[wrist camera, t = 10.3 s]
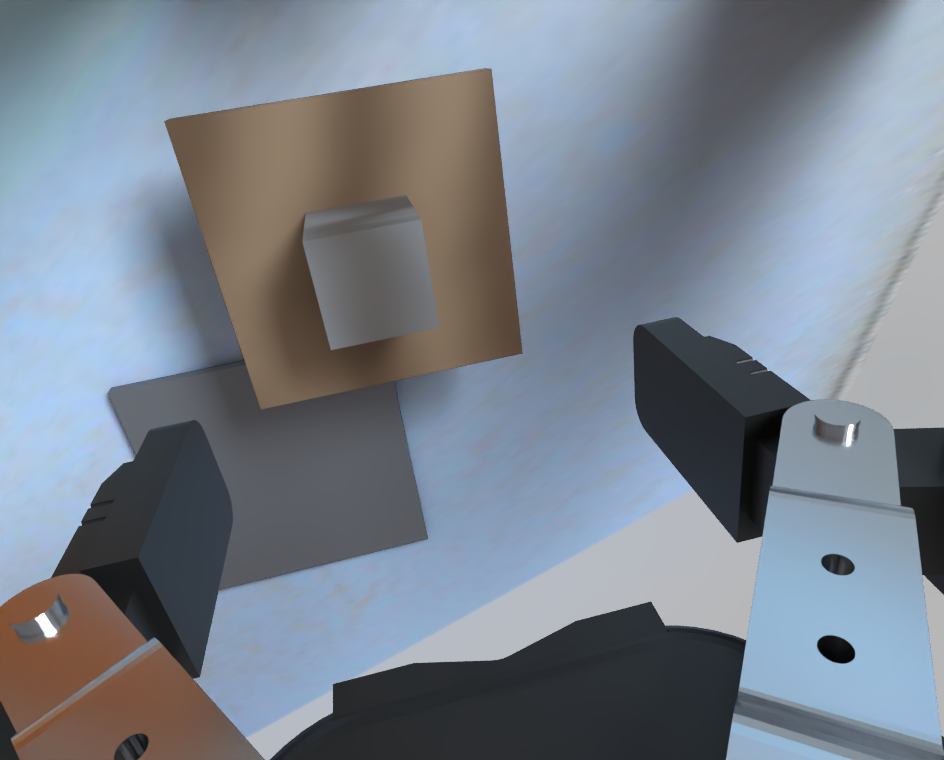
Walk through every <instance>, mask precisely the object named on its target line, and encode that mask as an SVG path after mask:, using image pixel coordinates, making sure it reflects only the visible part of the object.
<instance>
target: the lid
mask: <svg viewBox="0 0 944 760" xmlns="http://www.w3.org/2000/svg"><path fill="white" fill-rule="evenodd" d="M164 122H165V125H166V128H167V131H168V134H169V137H170V139H171V142H172V145H173V148H174V151H175V154H176V157H177V160H178V163H179V166H180V169H181V172H182V175H183V178H184V181H185V184H186V187H187V190H188V193H189V196H190V199H191V202H192V205H193V208H194V211H195V214H196V217H197V220H198V223H199V226H200V229H201V232H202V235H203V238H204V241H205V244H206V247H207V250H208V253H209V256H210V259H211V262H212V265H213V268H214V271H215V274H216V277H217V280H218V283H219V286H220V289H221V292H222V295H223V298H224V301H225V304H226V307H227V310H228V313H229V316H230V319H231V322H232V325H233V328H234V331H235V334H236V337H237V340H238V343H239V346H240V349H241V352H242V355H243V358H244V360H245V363H246V366H247V369H248V372H249V375H250V378H251V381H252V384H253V387H254V390H255V393H256V396H257V399H258V402H259V405H260V408H261V409H265V408H270V407H275V406H279V405H284V404H289V403H293V402H298V401H303V400H307V399H312V398H317V397H322V396H326V395H331V394H336V393H340V392H345V391H350V390H354V389H359V388H364V387H368V386H373V385H378V384H382V383H387V382H392V381H396V380H401V379H406V378H410V377H415V376H420V375H424V374H429V373H434V372H438V371H443V370H448V369H452V368H457V367H462V366H466V365H471V364H476V363H480V362H485V361H490V360H494V359H499V358H504V357H508V356H513V355H518V354H522V345H521V336H520V326H519V317H518V308H517V299H516V290H515V281H514V272H513V262H512V253H511V244H510V235H509V226H508V217H507V208H506V198H505V189H504V180H503V171H502V162H501V153H500V144H499V134H498V125H497V116H496V107H495V98H494V89H493V80H492V70H491V69H488V68H484V69H478V70H472V71H465V72H459V73H453V74H447V75H440V76H434V77H428V78H422V79H415V80H409V81H403V82H397V83H390V84H384V85H378V86H372V87H365V88H359V89H353V90H347V91H340V92H334V93H328V94H322V95H316V96H309V97H303V98H297V99H291V100H284V101H278V102H272V103H266V104H259V105H253V106H247V107H241V108H234V109H228V110H222V111H216V112H209V113H203V114H197V115H191V116H184V117H178V118H172V119H168V120H166V121H164Z"/></svg>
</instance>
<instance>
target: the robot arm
mask: <svg viewBox="0 0 944 760" xmlns="http://www.w3.org/2000/svg"><path fill="white" fill-rule="evenodd" d="M633 346H634V381H635V403H636V409H637V413H638V416H639V419H640V422H641V424H642V426H643V428H644V429H645V431H646V432H647V433H648V434H649V436H650V437H651V438H652V439H653V441H654V442H655V443H656V444H657V445H658V447H659V448H660V449H661V450H662V452H663V453H664V454H665V455H666V456H667V458H668V459H669V460H670V461H671V463H672V464H673V465H674V466H675V467H676V469H677V470H678V471H679V472H680V474H681V475H682V476H683V477H684V478H685V480H686V481H687V482H688V483H689V485H690V486H691V487H692V488H693V489H694V491H695V492H696V493H697V494H698V496H699V497H700V498H701V499H702V500H703V502H704V503H705V504H706V505H707V507H708V508H709V509H710V510H711V511H712V513H713V514H714V515H715V516H716V518H717V519H718V520H719V521H720V522H721V524H722V525H723V526H724V527H725V529H726V530H727V531H728V532H729V533H730V534H731V536H732V537H733V538H734V540H735V541H736V542H737V543H738V542H741V541H746V540H750V539H754V538H757V537H761V536H762V543H761V549H760V556H759V562H758V570H757V575H756V581H755V588H754V594H753V602H752V607H751V614H750V620H749V627H748V634H747V640H744V639H741V638H739V637H736V636H733V635H729V634H725V633H722V632H718V631H714V630H709V629H703V628H697V627H687V626H665V625H664V623H663V622H662V620H661V618H660V616H659V615H658V613H657V611H656V609H655V608H654V606H653V605H652V602H648V603H644V604H640V605H637V606H632V607H629V608H625V609H621V610H617V611H613V612H610V613H606V614H602V615H598V616H594V617H590V618H587V619H582V620H579V621H575V622H573V623H572V624H570V625H568V626H566V627H564V628H562V629H560V630H558V631H556V632H554V633H552V634H550V635H549V636H547V637H545V638H543V639H541V640H539V641H537V642H535V643H533V644H531V645H530V646H527V647H526V648H524V649H522V650H520V651H518V652H516V653H514V654H512V655H510V656H508V657H506V658H504V659H500V660H493V661H465V662H435V663H413V664H409V665H406V666H402V667H398V668H394V669H390V670H386V671H383V672H378V673H375V674H371V675H367V676H363V677H359V678H355V679H351V680H348V681H344V682H340V683H336V684H333V713H332V714H330V715H328V716H326V717H324V718H323V719H321V720H319V721H318V722H316V723H315V724H313V725H312V726H310V727H308V728H307V729H305V730H304V731H302V732H301V733H300V734H299V735H297V736H296V737H295V738H294V739H292V740H291V741H290V742H289V743H288V744H286V745H285V746H284V747H283V748H282V749H281V750H280V751H279V752H278V753H276V754H275V755H274V756H273V757H272V758H271V759H270V760H944V737H943V736H941V730H940V721H939V713H938V704H937V696H936V687H935V679H934V671H933V662H932V654H931V645H930V637H929V628H928V620H927V612H926V604H925V594H924V586H923V577H922V575H925V576H926V578H927V579H928V580H929V581H931V583H932V584H934V586H935V587H937V589H939V591H941V592H942V593H943V594H944V428H917V429H893V427H892V425H891V423H890V422H889V421H888V420H887V419H886V418H885V417H884V416H883V415H881V414H880V413H878V412H876V411H874V410H873V409H870V408H868V407H865V406H863V405H859V404H856V403H852V402H847V401H841V400H829V399H825V400H810V399H808V398H807V397H806V396H804V395H803V394H802V393H800V392H799V391H797V390H796V389H795V388H793V387H792V386H791V385H789V384H788V383H787V382H785V381H784V380H782V379H781V378H780V377H778V376H777V375H776V374H774V373H773V372H772V371H767V368H766V367H765V366H763V365H762V364H761V363H759V362H758V361H757V360H754V361H753V359H752V357H751V356H750V355H748V354H747V353H746V352H744V351H743V350H742V349H740V348H739V347H737V346H736V345H734V344H731V343H728V342H726V341H723V340H720V339H717V338H714V337H711V336H707V337H703V336H702V335H701V334H699V333H698V332H697V331H695V330H694V329H693V328H691V327H690V326H689V325H688V324H686V323H685V322H684V321H682V320H681V319H680V318H677V317H674V318H669V319H665V320H660V321H656V322H651V323H646V324H642V325H638V326H637V327H636V328H635V331H634V337H633ZM81 523H82V526H79V527H78V529H77V531H76V532H75V534H74V536H73V538H72V540H71V542H70V544H69V545H68V547H67V549H66V551H65V553H64V555H63V557H62V558H61V560H60V562H59V564H58V566H57V568H56V570H55V571H54V573H53V575H52V577H51V578H50V579H47V580H44V581H42V582H39V583H37V584H35V585H33V586H31V587H29V588H27V589H25V590H23V591H22V592H20V593H18V594H17V595H15V596H14V597H12V598H11V599H10V600H8V601H7V602H6V603H4V604H3V605H2V606H1V607H0V760H264V758H263V757H262V756H261V755H260V754H259V753H258V751H257V750H256V749H255V748H254V747H253V746H252V745H251V744H250V743H249V741H248V740H247V739H246V738H245V737H244V736H243V735H242V734H241V732H240V731H239V730H238V729H237V728H236V727H235V726H234V725H233V723H232V722H231V721H230V720H229V719H228V718H227V717H226V716H225V714H224V713H223V712H222V711H221V710H220V709H219V708H218V707H217V705H216V704H215V703H214V702H213V701H212V700H211V699H210V698H209V696H208V695H207V694H206V693H205V692H204V691H203V690H202V689H201V688H200V686H199V685H198V684H197V683H196V682H195V681H194V680H193V679H194V678H197V677H200V674H201V669H202V665H203V660H204V655H205V651H206V646H207V641H208V637H209V632H210V627H211V623H212V618H213V613H214V609H215V604H216V599H217V595H218V590H219V586H220V581H221V576H222V572H223V567H224V562H225V558H226V553H227V548H228V544H229V539H230V534H231V530H232V525H233V510H232V503H231V498H230V495H229V491H228V489H227V486H226V484H225V481H224V479H223V476H222V474H221V471H220V469H219V466H218V464H217V461H216V459H215V456H214V454H213V451H212V449H211V446H210V444H209V441H208V439H207V436H206V434H205V432H204V430H203V428H202V426H201V425H200V423H199V422H198V421H196V420H191V421H186V422H181V423H177V424H172V425H167V426H163V427H158V428H153V429H150V430H149V431H148V433H147V435H146V437H145V439H144V441H143V443H142V445H141V447H140V449H139V451H138V453H137V455H136V457H135V459H134V461H132V462H127V463H124V464H123V465H121V466H120V467H119V468H118V469H117V470H116V471H115V472H114V473H113V474H112V475H111V476H110V477H109V478H107V479H106V480H105V481H104V482H103V483H102V484H101V486H100V488H99V490H98V492H97V493H96V495H95V497H94V499H93V501H92V503H91V508H90V509H88V510H87V512H86V514H85V516H84V518H83V519H82V521H81Z"/></svg>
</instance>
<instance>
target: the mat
mask: <svg viewBox="0 0 944 760" xmlns="http://www.w3.org/2000/svg"><path fill="white" fill-rule="evenodd" d="M108 395H109V397H110V400H111V402H112V404H113V406H114V408H115V410H116V413H117V415H118V417H119V419H120V421H121V424H122V426H123V428H124V430H125V432H126V434H127V437H128V439H129V441H130V443H131V445H132V448H133V450H134V452H135V454H136V455H137V453H138V451H139V449H140V447H141V445H142V443H143V441H144V439H145V437H146V435H147V433H148V431H149V430H150V429H153V428H158V427H163V426H167V425H172V424H177V423H181V422H186V421H191V420H196V421H198V422H199V423H200V425H201V426H202V428H203V430H204V432H205V434H206V436H207V439H208V441H209V444H210V446H211V449H212V451H213V454H214V456H215V459H216V461H217V464H218V466H219V469H220V471H221V474H222V476H223V479H224V481H225V484H226V486H227V489H228V491H229V495H230V498H231V503H232V510H233V525H232V530H231V534H230V539H229V544H228V548H227V553H226V558H225V562H224V567H223V572H222V576H221V581H220V586H219V590H222V589H226V588H230V587H234V586H238V585H242V584H246V583H250V582H254V581H258V580H263V579H267V578H271V577H275V576H279V575H283V574H287V573H291V572H295V571H299V570H303V569H308V568H312V567H316V566H320V565H324V564H328V563H332V562H336V561H340V560H344V559H348V558H352V557H357V556H361V555H365V554H369V553H373V552H377V551H381V550H385V549H389V548H393V547H397V546H401V545H406V544H410V543H414V542H418V541H422V540H426V539H428V536H427V532H426V527H425V522H424V518H423V513H422V509H421V504H420V499H419V495H418V490H417V486H416V481H415V477H414V472H413V467H412V463H411V458H410V454H409V449H408V444H407V440H406V435H405V431H404V426H403V422H402V417H401V412H400V408H399V403H398V399H397V394H396V389H395V385H394V381H392V382H387V383H382V384H378V385H373V386H368V387H364V388H359V389H354V390H350V391H345V392H340V393H336V394H331V395H326V396H322V397H317V398H312V399H307V400H303V401H298V402H293V403H289V404H284V405H279V406H275V407H270V408H265V409H261V408H260V405H259V402H258V399H257V396H256V393H255V390H254V387H253V384H252V381H251V378H250V375H249V372H248V369H247V366H246V363H245V360H244V361H240V362H235V363H230V364H225V365H220V366H215V367H210V368H205V369H201V370H196V371H191V372H186V373H181V374H176V375H171V376H166V377H162V378H157V379H152V380H147V381H142V382H137V383H132V384H128V385H123V386H118V387H113V388H111V389H110V390H109V392H108Z"/></svg>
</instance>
